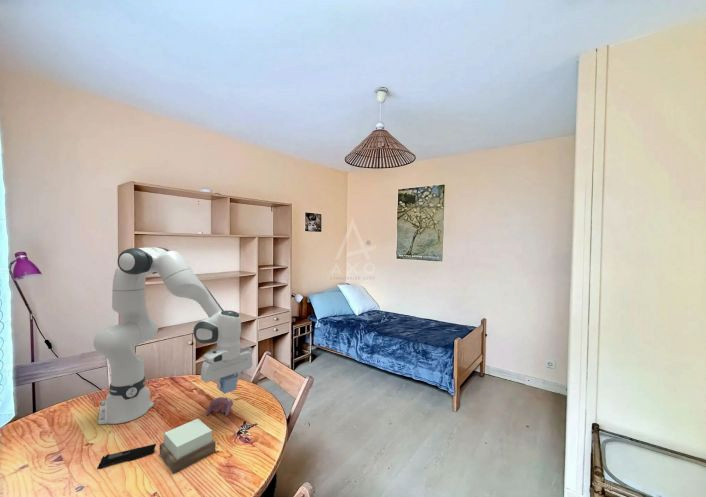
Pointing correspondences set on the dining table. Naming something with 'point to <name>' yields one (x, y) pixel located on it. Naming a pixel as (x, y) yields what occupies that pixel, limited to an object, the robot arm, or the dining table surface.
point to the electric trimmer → (126, 455)
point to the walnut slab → (186, 460)
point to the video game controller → (215, 405)
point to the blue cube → (228, 383)
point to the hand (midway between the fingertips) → (227, 385)
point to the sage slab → (187, 438)
